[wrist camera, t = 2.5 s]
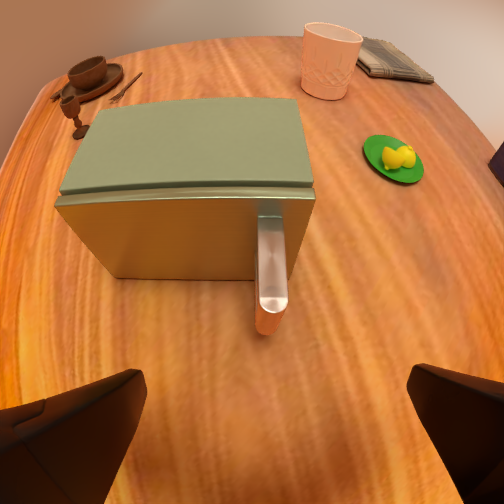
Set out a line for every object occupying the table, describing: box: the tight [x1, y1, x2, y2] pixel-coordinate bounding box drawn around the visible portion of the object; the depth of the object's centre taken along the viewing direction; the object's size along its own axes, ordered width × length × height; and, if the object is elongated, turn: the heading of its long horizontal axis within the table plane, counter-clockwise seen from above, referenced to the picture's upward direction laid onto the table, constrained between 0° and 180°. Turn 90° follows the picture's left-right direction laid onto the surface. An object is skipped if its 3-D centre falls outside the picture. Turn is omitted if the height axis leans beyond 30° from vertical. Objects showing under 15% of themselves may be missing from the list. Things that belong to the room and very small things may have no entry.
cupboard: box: [59, 97, 314, 196], centre depth 21 cm, size 8×15×11 cm, turn 91°
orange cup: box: [301, 23, 363, 100], centre depth 33 cm, size 8×8×10 cm
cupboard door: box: [54, 186, 316, 335], centre depth 18 cm, size 6×15×10 cm, turn 91°
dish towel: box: [356, 37, 434, 83], centre depth 45 cm, size 19×18×3 cm
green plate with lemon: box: [364, 135, 424, 183], centre depth 29 cm, size 8×8×3 cm
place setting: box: [50, 56, 142, 139], centre depth 35 cm, size 18×20×6 cm
